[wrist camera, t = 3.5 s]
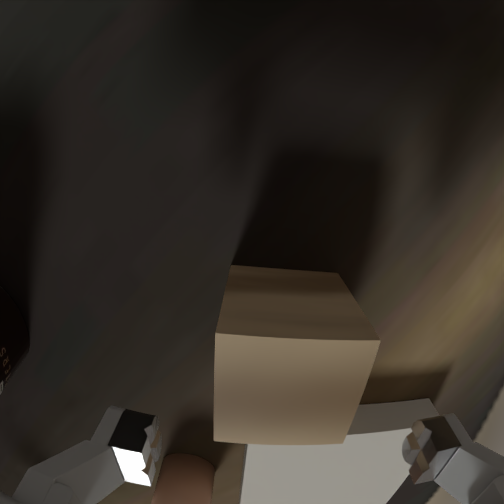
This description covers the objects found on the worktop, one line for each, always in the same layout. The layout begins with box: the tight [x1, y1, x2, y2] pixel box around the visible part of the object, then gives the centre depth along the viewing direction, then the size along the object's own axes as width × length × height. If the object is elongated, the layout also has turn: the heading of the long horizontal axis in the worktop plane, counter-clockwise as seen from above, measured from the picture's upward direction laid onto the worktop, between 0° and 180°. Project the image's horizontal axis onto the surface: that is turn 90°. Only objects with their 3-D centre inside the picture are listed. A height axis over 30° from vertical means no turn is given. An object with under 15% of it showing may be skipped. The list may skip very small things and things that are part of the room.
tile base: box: [239, 398, 439, 504], centre depth 18 cm, size 12×12×2 cm
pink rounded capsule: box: [151, 453, 215, 504], centre depth 17 cm, size 4×4×5 cm
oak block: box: [214, 265, 381, 445], centre depth 13 cm, size 5×5×6 cm
